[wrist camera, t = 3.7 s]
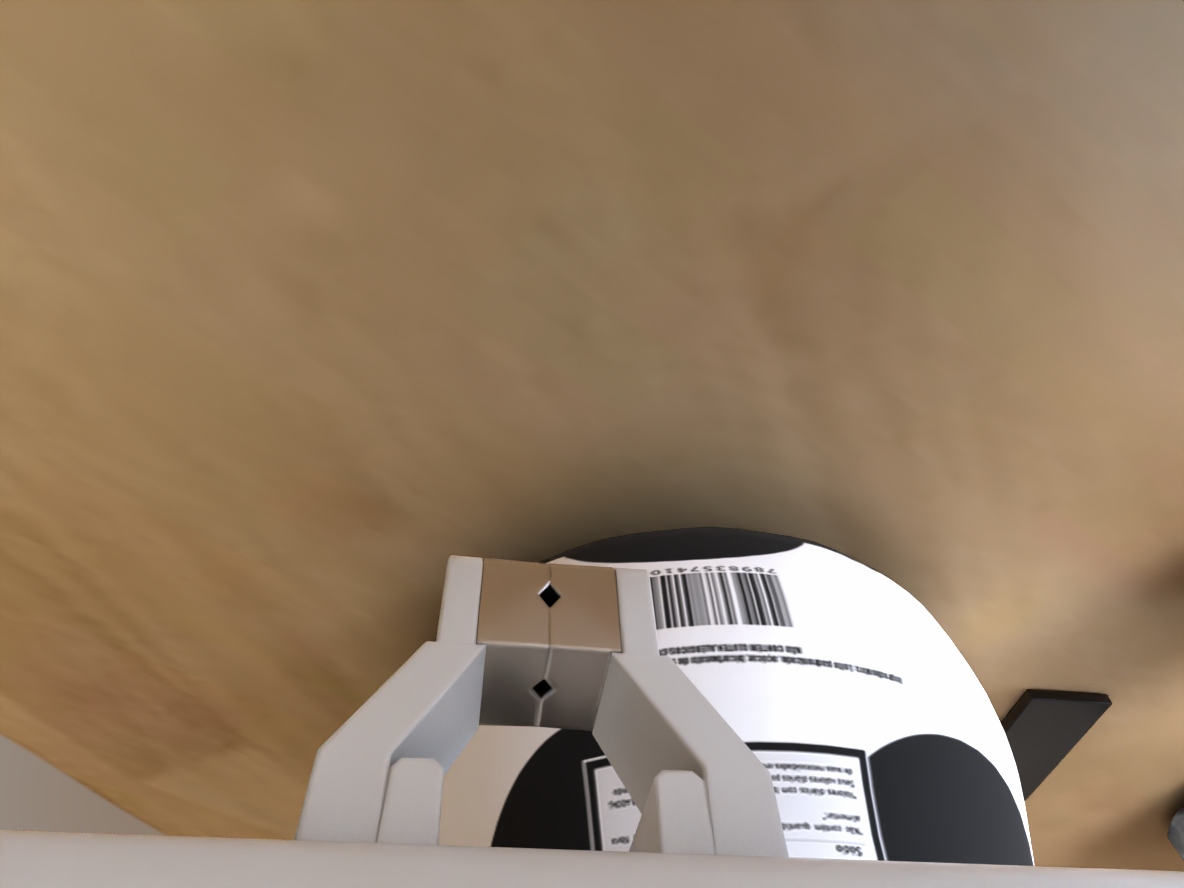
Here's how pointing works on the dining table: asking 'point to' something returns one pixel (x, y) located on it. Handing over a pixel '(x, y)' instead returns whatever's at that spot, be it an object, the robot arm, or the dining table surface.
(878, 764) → the milk container
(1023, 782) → the ruler
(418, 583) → the dining table surface
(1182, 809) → the moka pot
